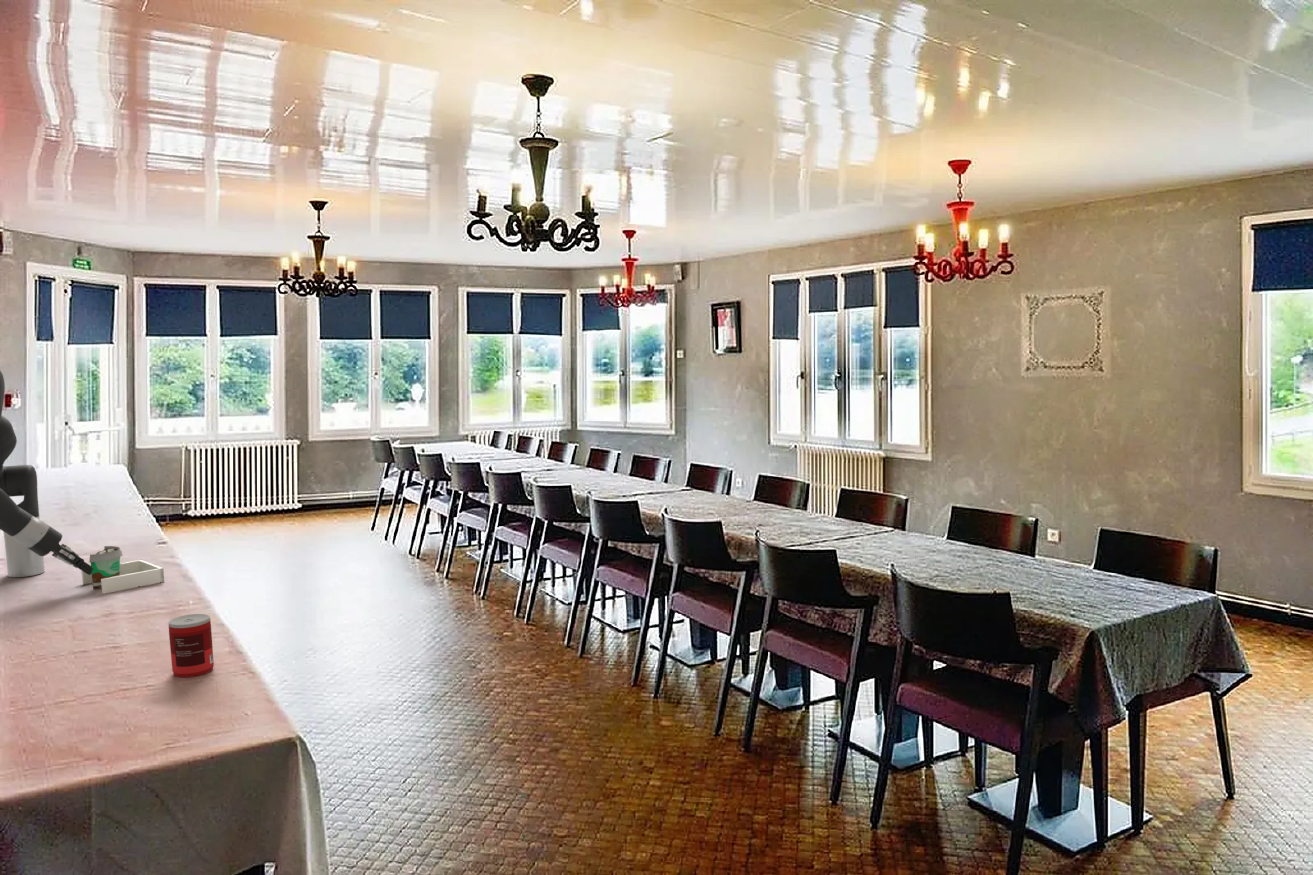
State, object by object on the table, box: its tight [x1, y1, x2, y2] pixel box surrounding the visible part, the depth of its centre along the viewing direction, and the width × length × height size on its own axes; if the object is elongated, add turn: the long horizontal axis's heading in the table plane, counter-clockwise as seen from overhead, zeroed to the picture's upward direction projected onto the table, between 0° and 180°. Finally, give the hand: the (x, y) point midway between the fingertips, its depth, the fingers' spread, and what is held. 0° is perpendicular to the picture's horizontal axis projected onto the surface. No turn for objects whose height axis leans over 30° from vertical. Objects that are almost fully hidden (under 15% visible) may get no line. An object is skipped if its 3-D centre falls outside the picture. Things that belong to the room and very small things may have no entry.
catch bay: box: [81, 559, 165, 595], centre depth 263 cm, size 18×16×4 cm
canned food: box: [168, 613, 215, 679], centre depth 187 cm, size 8×8×11 cm
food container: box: [89, 545, 123, 590], centre depth 261 cm, size 12×6×10 cm, turn 13°
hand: (91, 571), depth 256 cm, fingers closed
